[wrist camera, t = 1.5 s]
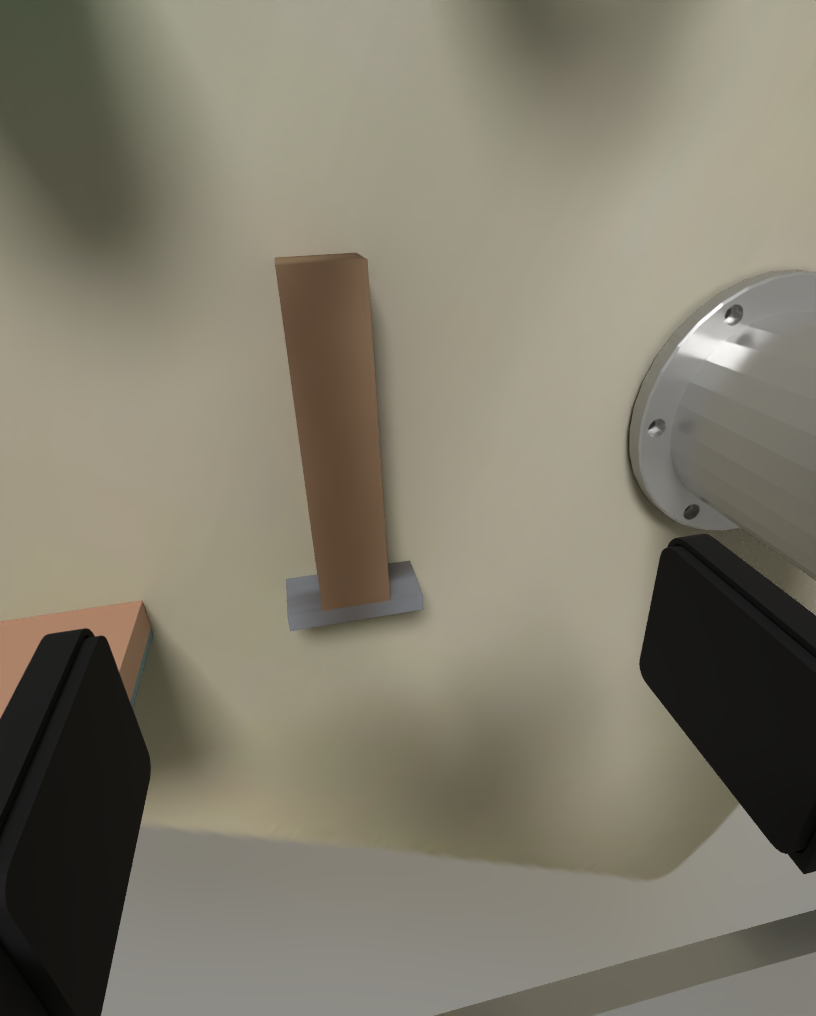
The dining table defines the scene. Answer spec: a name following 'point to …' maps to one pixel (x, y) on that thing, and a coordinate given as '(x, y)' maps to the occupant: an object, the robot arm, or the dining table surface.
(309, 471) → the tall wooden post
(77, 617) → the tile
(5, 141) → the dining table surface
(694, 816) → the dining table surface
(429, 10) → the dining table surface
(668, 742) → the dining table surface
